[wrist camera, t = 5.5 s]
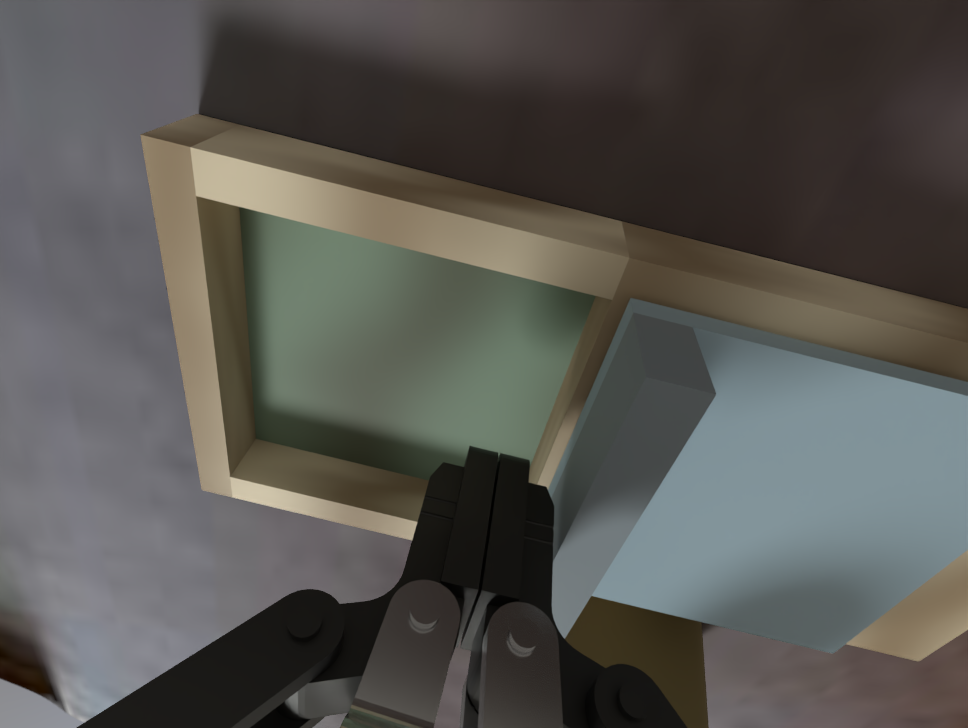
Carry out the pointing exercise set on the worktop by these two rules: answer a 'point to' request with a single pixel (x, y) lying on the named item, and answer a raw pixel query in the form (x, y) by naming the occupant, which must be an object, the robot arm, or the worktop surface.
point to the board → (452, 328)
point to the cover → (757, 481)
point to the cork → (648, 650)
